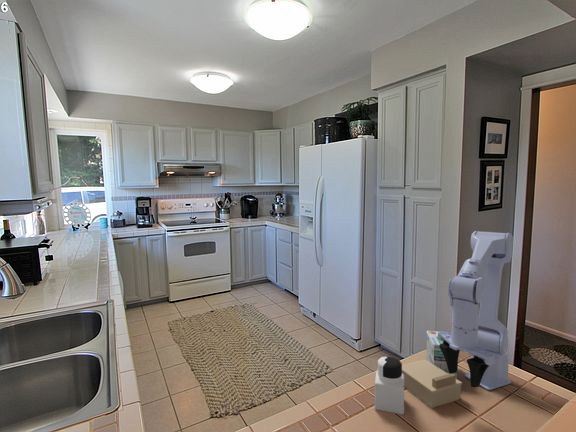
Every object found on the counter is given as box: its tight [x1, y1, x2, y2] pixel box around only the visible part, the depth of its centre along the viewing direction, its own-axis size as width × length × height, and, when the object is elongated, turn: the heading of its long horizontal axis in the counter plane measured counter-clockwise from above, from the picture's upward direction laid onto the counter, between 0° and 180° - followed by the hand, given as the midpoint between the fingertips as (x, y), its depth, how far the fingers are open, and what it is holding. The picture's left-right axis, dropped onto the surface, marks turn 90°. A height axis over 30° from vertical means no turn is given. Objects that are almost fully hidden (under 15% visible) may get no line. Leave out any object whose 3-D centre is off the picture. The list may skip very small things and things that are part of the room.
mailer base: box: [402, 372, 462, 409], centre depth 91 cm, size 10×13×4 cm
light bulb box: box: [425, 330, 458, 380], centre depth 100 cm, size 11×7×11 cm, turn 168°
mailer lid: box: [402, 358, 463, 393], centre depth 91 cm, size 10×13×3 cm
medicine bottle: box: [374, 356, 405, 416], centre depth 85 cm, size 7×7×12 cm
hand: (463, 379), depth 80 cm, fingers open, 6 cm apart
